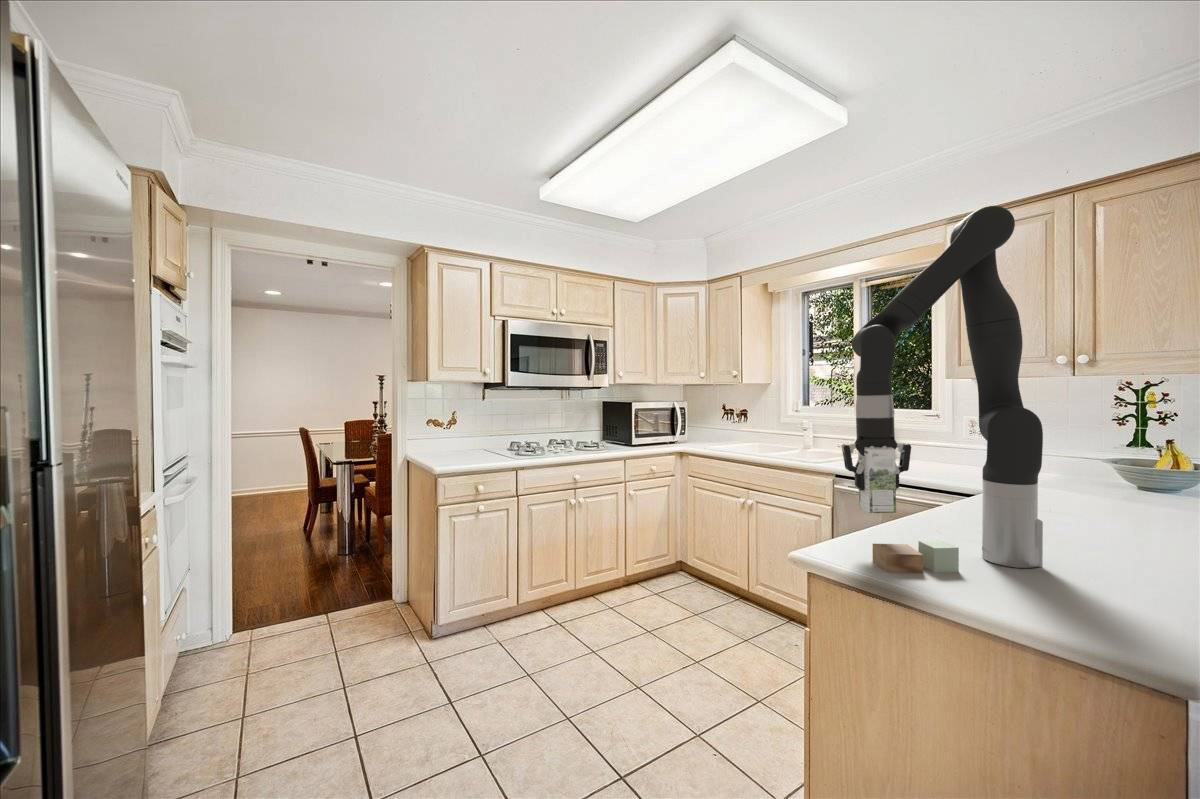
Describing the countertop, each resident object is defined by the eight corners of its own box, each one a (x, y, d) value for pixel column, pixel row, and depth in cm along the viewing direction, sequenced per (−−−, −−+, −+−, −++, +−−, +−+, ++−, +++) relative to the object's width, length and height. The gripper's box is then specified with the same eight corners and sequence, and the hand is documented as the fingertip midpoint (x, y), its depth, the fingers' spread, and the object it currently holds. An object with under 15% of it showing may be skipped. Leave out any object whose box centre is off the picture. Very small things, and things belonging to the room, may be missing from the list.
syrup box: (884, 507, 118) (883, 444, 118) (897, 513, 112) (895, 447, 112) (858, 507, 118) (857, 445, 118) (870, 514, 112) (868, 448, 112)
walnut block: (907, 562, 110) (907, 544, 110) (923, 574, 103) (923, 554, 103) (872, 561, 111) (872, 543, 111) (886, 573, 104) (886, 553, 104)
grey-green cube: (941, 563, 109) (941, 540, 109) (958, 572, 104) (958, 547, 104) (918, 564, 109) (918, 540, 109) (934, 572, 104) (934, 548, 104)
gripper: (904, 413, 117) (906, 487, 117) (836, 415, 120) (838, 486, 120) (916, 415, 110) (918, 493, 110) (843, 417, 113) (846, 493, 113)
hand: (876, 489), depth 115 cm, fingers closed on syrup box, 6 cm apart
